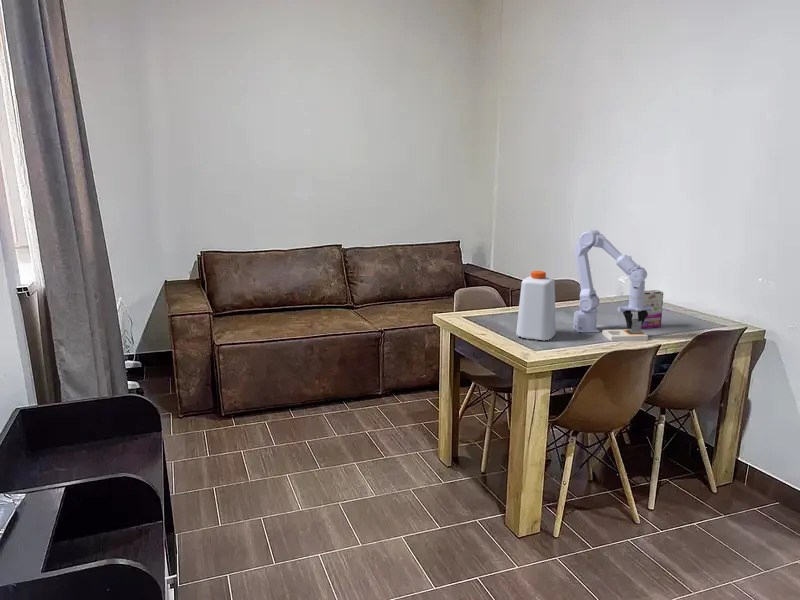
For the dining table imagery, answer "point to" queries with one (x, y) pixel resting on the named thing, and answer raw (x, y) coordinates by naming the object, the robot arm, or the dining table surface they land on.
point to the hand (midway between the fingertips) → (634, 328)
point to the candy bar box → (653, 318)
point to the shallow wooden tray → (623, 335)
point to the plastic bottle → (537, 307)
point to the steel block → (635, 327)
